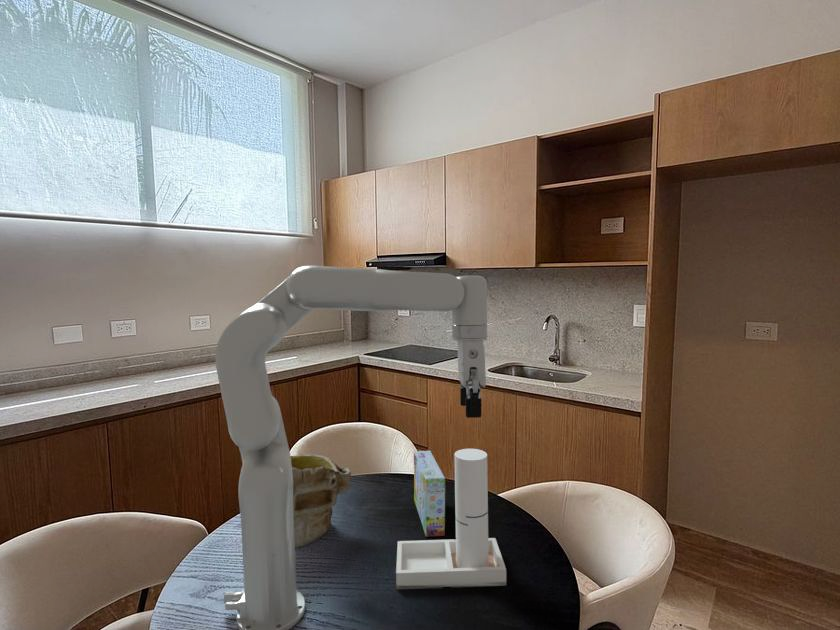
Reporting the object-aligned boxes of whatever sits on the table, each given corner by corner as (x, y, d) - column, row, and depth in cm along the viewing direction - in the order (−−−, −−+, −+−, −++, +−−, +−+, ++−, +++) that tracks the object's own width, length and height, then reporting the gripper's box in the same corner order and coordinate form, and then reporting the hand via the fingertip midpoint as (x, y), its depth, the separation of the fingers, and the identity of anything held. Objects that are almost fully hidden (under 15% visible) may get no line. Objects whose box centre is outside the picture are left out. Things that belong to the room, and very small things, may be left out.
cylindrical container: (487, 576, 96) (486, 461, 94) (454, 572, 97) (452, 459, 96) (489, 557, 103) (488, 449, 101) (458, 553, 104) (456, 447, 103)
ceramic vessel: (330, 468, 137) (344, 418, 122) (349, 548, 121) (368, 501, 106) (251, 482, 127) (256, 429, 112) (261, 571, 111) (268, 523, 96)
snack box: (447, 536, 114) (446, 477, 113) (425, 538, 113) (424, 479, 112) (431, 498, 135) (430, 448, 134) (412, 500, 134) (411, 450, 133)
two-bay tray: (396, 589, 94) (396, 573, 93) (398, 555, 106) (397, 541, 105) (506, 585, 94) (506, 569, 94) (495, 552, 106) (495, 537, 106)
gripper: (494, 336, 89) (495, 422, 89) (480, 329, 106) (481, 401, 107) (456, 337, 88) (457, 422, 89) (448, 329, 106) (449, 401, 107)
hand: (470, 410), depth 98 cm, fingers open, 9 cm apart
